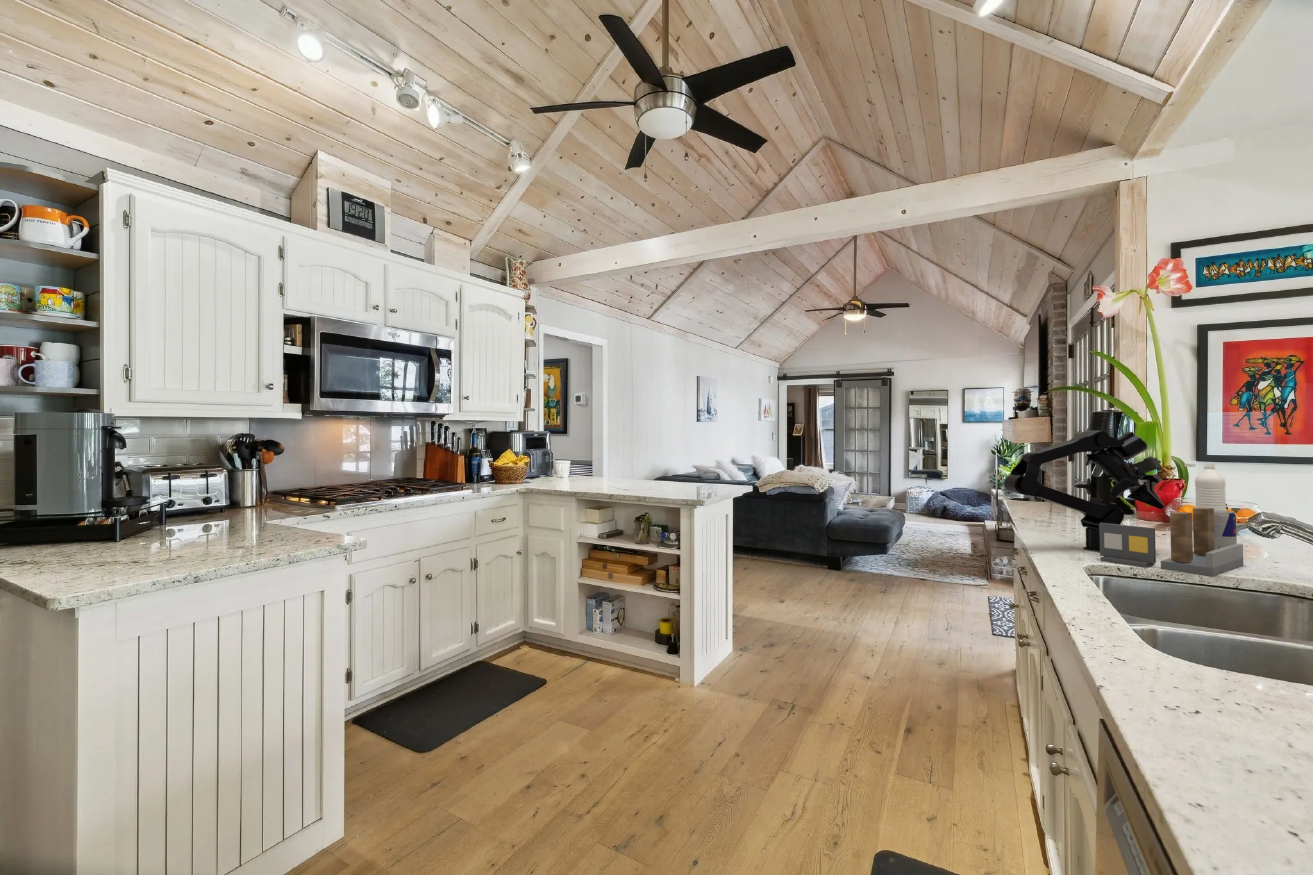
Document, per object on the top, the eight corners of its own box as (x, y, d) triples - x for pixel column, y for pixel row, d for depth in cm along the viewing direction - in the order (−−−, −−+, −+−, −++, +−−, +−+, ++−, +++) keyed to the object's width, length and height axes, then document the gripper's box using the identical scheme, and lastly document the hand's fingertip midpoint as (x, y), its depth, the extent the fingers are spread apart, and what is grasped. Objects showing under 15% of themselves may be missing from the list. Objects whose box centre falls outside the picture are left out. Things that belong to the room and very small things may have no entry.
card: (1096, 560, 158) (1095, 523, 158) (1105, 558, 161) (1104, 522, 161) (1150, 568, 148) (1149, 529, 148) (1159, 565, 150) (1158, 527, 150)
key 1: (1171, 560, 146) (1169, 512, 146) (1177, 558, 148) (1176, 511, 148) (1186, 562, 143) (1185, 514, 143) (1193, 560, 145) (1191, 512, 145)
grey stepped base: (1160, 568, 147) (1160, 547, 147) (1192, 558, 157) (1192, 538, 157) (1213, 576, 138) (1212, 553, 138) (1243, 565, 148) (1242, 544, 148)
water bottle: (1224, 547, 171) (1222, 462, 171) (1229, 551, 165) (1227, 464, 165) (1184, 544, 176) (1182, 462, 176) (1188, 548, 170) (1186, 463, 170)
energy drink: (1242, 556, 158) (1241, 513, 158) (1219, 556, 159) (1218, 512, 159) (1227, 552, 163) (1226, 510, 163) (1205, 552, 164) (1204, 510, 164)
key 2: (1193, 553, 153) (1192, 508, 153) (1199, 551, 155) (1198, 507, 155) (1208, 555, 150) (1207, 509, 150) (1214, 553, 152) (1213, 508, 152)
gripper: (1123, 448, 160) (1174, 491, 150) (1152, 446, 169) (1203, 486, 160) (1091, 475, 167) (1138, 518, 157) (1121, 472, 176) (1167, 512, 166)
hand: (1163, 508), depth 160 cm, fingers closed
